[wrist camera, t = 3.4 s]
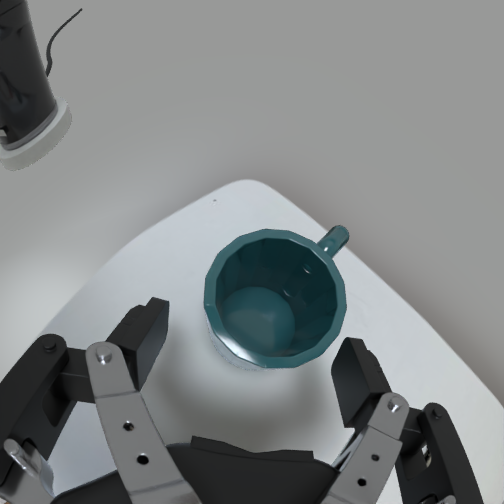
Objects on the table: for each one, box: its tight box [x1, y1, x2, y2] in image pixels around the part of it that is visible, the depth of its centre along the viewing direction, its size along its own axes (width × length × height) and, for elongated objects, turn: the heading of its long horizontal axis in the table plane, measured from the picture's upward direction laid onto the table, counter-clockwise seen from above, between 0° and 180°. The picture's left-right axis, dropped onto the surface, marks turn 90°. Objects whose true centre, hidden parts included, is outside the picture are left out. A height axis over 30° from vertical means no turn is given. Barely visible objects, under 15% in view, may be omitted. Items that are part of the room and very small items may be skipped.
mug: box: [204, 225, 349, 370], centre depth 16 cm, size 10×6×8 cm
